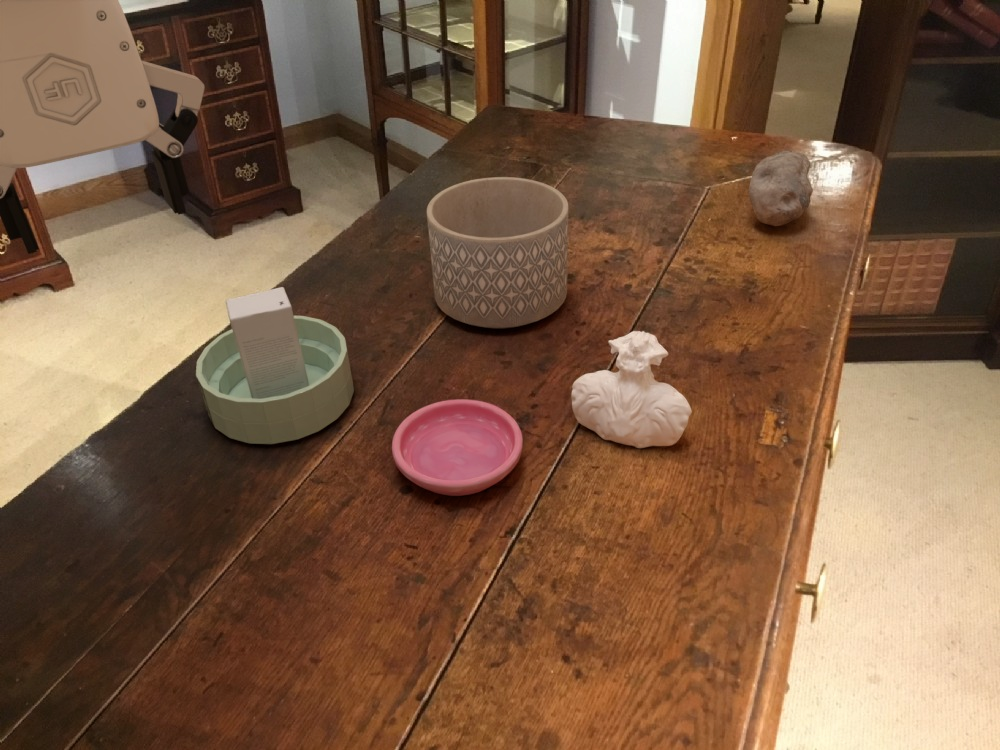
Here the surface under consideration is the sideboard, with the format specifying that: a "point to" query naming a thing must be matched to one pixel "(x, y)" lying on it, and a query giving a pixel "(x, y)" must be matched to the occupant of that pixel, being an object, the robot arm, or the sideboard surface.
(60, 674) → the sideboard surface
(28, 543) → the sideboard surface
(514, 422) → the saucer
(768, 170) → the stone
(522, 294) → the planter
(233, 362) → the bowl
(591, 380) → the bust
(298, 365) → the cosmetic box
